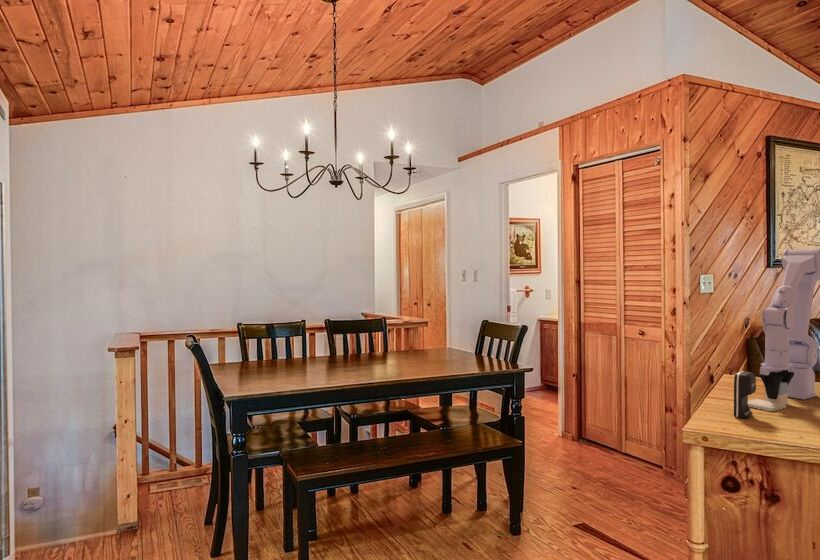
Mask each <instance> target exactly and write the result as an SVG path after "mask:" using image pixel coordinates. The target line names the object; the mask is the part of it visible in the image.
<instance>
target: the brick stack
mask: <svg viewBox="0 0 820 560" xmlns="http://www.w3.org/2000/svg"><path fill="white" fill-rule="evenodd" d="M764 389H765V388H764ZM764 394H765V395H764V400H765V401H770V402H776V403H781V404H786V405H788V397H787V396H788V383H786V382H780V385H779V390H778V396H777V399H776V400H775V399H770V398H768V397H767V393H766V389H765V390H764Z"/></svg>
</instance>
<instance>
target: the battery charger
mask: <svg viewBox="0 0 820 560" xmlns="http://www.w3.org/2000/svg"><path fill="white" fill-rule="evenodd" d="M733 379H734V381H733V417H734V418H738V417H739V418H740V419H749V418H750V417H752V415H753V411H752V410H751V408H750V407H749V406H748V401H749V399H748V398H749V397H748V396H751V395H752V394H755V392H756V391H757V381H756V380H757V378H756V375H755V373H753V372H750V371H744V370H740V371H738V372H736V373H735V374H734V378H733Z"/></svg>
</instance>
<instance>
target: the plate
mask: <svg viewBox="0 0 820 560" xmlns="http://www.w3.org/2000/svg"><path fill="white" fill-rule="evenodd" d="M748 406H749V408H750V407H754V408H753V409H755V408H757V409H756V410H760V409H762V410H761V411H765V410H766V411H765V412H770V411H773V412H775V411H776V410H777V411H780V410H784V409H787V404H781V403H776V402H770V401H765V399H760V398H753V399H748ZM783 408H784V409H783ZM779 409H780V410H779Z"/></svg>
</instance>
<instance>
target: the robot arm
mask: <svg viewBox="0 0 820 560" xmlns="http://www.w3.org/2000/svg"><path fill="white" fill-rule="evenodd" d="M781 265H782V268H783V271H784V275H783V279H782V283H781V286H779V287H777V288H776V289H775V291H774V293H773V296H772V298H771V301H770V304H769V305H768V306H767V307H766V308H764V309H763V311H762V314H761V322H762V327H763V328H762V329H763V333H765V337H764V339H765V340H764V341H765V343H764V348H765V349H764V362H761V363H760V367H759V373H758V377H760V379H761V381H762V382H763V383H762V384H763V386H764V389H766V393H767V397H768V398H770V399H775V400H776V399H777V396H778V390H779V385H780V382H786V383H788V396H787V398H793V399H799V400H807V399H811V398H814V397H815V398H816V397H818V396H819V394H818V393H816V392H815V391H816V374H815V371H814V369H813V368H812V367H814V366H815V365H816V364H817V363H818V357H819V352H818V347H819V345H818V342H817V341H816V340H815V339H814V338H813V337H812V336H810V335H809V328H810V321H811V315H812V306H813V299H814V292H815V287H816V284H817V281H819V280H820V248H817V249H815V248H814V249H789V248H787V249H785V250H784V251H783V253H782V254H781Z"/></svg>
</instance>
